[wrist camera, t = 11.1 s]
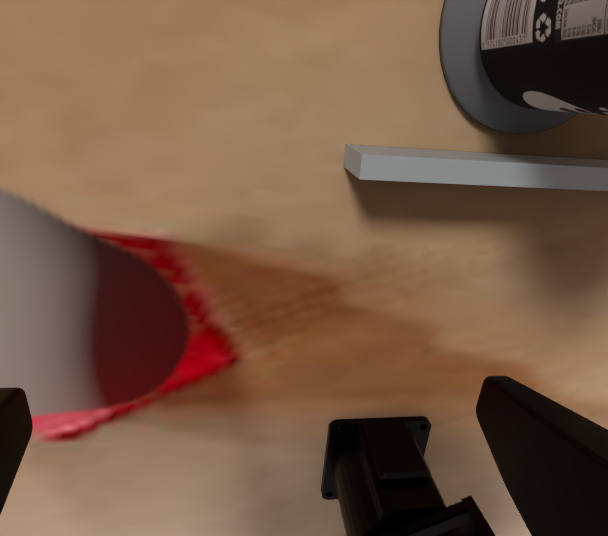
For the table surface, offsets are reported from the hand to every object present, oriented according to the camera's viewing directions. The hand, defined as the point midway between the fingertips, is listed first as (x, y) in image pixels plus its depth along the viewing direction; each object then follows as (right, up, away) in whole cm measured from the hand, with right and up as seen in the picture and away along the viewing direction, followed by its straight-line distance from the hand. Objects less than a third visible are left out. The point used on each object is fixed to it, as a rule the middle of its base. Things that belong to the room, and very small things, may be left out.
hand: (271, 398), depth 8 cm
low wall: (+10, +8, +12) cm, 18 cm away
